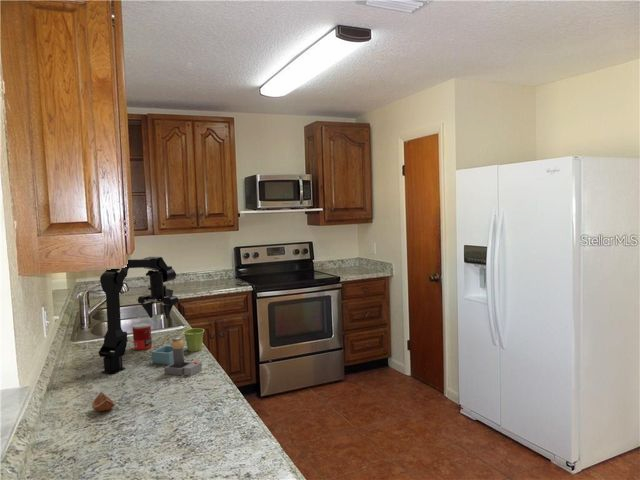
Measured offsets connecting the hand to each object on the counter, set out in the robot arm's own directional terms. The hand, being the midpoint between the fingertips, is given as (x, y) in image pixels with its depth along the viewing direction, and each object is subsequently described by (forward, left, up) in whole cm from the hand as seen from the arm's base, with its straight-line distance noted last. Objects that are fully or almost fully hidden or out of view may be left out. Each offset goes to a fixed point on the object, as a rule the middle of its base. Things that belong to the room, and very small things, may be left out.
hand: (159, 318), depth 216 cm
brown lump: (-58, -26, -15) cm, 65 cm away
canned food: (0, +10, -15) cm, 18 cm away
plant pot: (+4, -16, -15) cm, 22 cm away
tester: (-21, -29, -15) cm, 38 cm away
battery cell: (-21, -27, -15) cm, 37 cm away
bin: (-12, -14, -15) cm, 23 cm away
